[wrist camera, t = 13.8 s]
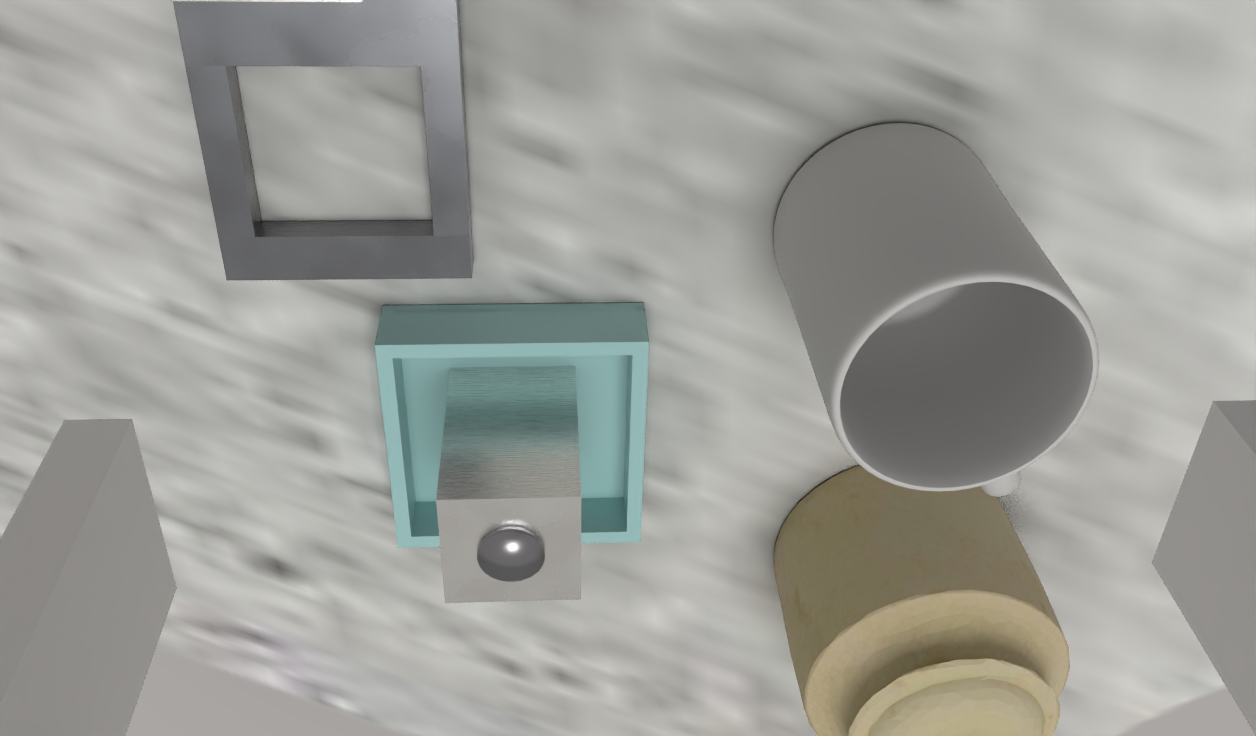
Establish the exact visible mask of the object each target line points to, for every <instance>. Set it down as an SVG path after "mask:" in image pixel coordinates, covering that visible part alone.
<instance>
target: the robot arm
mask: <svg viewBox="0 0 1256 736" xmlns="http://www.w3.org/2000/svg"><path fill="white" fill-rule="evenodd" d="M1152 564H1153V565H1154V567H1155V569H1156V570H1157V572H1158V574H1159V575H1160V577H1161V579H1162V580H1163V582H1164V584H1165V585H1166V587H1167V589H1168V590H1169V592H1170V594H1171V595H1172V597H1173V599H1174V600H1175V602H1176V604H1177V605H1178V607H1179V609H1180V610H1181V612H1182V614H1183V615H1184V617H1185V619H1186V620H1187V622H1188V624H1189V625H1190V627H1191V629H1192V630H1193V632H1194V634H1195V635H1196V637H1197V639H1198V640H1199V642H1200V644H1201V645H1202V647H1203V649H1204V650H1205V652H1206V654H1207V655H1208V657H1209V659H1210V660H1211V662H1212V664H1213V665H1214V667H1215V669H1216V670H1217V672H1218V673H1219V675H1220V677H1221V678H1222V680H1223V682H1224V683H1225V685H1226V687H1227V688H1228V690H1229V692H1230V693H1231V695H1232V697H1233V698H1234V700H1235V702H1236V703H1237V705H1238V707H1239V708H1240V710H1241V712H1242V713H1243V715H1244V717H1245V718H1246V720H1247V722H1248V723H1249V725H1250V727H1251V728H1252V730H1253V732H1254V733H1255V735H1256V400H1251V401H1213V403H1212V406H1211V408H1210V411H1209V414H1208V416H1207V419H1206V421H1205V424H1204V427H1203V429H1202V432H1201V435H1200V437H1199V440H1198V442H1197V445H1196V448H1195V450H1194V453H1193V456H1192V458H1191V461H1190V463H1189V466H1188V469H1187V471H1186V474H1185V477H1184V479H1183V482H1182V485H1181V487H1180V490H1179V492H1178V495H1177V498H1176V500H1175V503H1174V506H1173V508H1172V511H1171V513H1170V516H1169V519H1168V521H1167V524H1166V527H1165V529H1164V532H1163V535H1162V537H1161V540H1160V542H1159V545H1158V548H1157V550H1156V553H1155V556H1154V558H1153V561H1152ZM176 588H177V587H176V583H175V579H174V576H173V572H172V568H171V564H170V560H169V557H168V553H167V549H166V545H165V542H164V538H163V534H162V530H161V527H160V523H159V519H158V515H157V512H156V508H155V504H154V500H153V497H152V493H151V489H150V485H149V482H148V478H147V474H146V470H145V466H144V463H143V459H142V455H141V451H140V448H139V444H138V440H137V436H136V433H135V429H134V425H133V421H132V419H94V420H64V422H63V424H62V426H61V428H60V429H59V431H58V433H57V435H56V437H55V439H54V441H53V442H52V444H51V446H50V448H49V450H48V452H47V454H46V455H45V457H44V459H43V461H42V463H41V465H40V467H39V468H38V470H37V472H36V474H35V476H34V478H33V480H32V481H31V483H30V485H29V487H28V489H27V491H26V493H25V494H24V496H23V498H22V500H21V502H20V504H19V506H18V507H17V509H16V511H15V513H14V515H13V517H12V519H11V520H10V522H9V524H8V526H7V528H6V530H5V532H4V533H3V535H2V537H1V539H0V736H125V735H126V733H127V730H128V727H129V724H130V721H131V718H132V715H133V712H134V709H135V706H136V704H137V701H138V698H139V695H140V692H141V689H142V686H143V683H144V680H145V678H146V675H147V672H148V669H149V666H150V663H151V660H152V657H153V654H154V652H155V649H156V646H157V643H158V640H159V637H160V634H161V631H162V628H163V625H164V623H165V620H166V617H167V614H168V611H169V608H170V605H171V602H172V599H173V597H174V594H175V591H176Z"/></svg>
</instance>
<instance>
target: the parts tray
mask: <svg viewBox="0 0 1256 736" xmlns="http://www.w3.org/2000/svg"><path fill="white" fill-rule="evenodd" d="M375 352H376V361H377V370H378V378H379V387H380V396H381V404H382V413H383V422H384V431H385V439H386V448H387V457H388V465H389V474H390V483H391V492H392V500H393V509H394V518H395V526H396V535H397V544H398V548H405V547H440V539H439V528H438V517H437V505H436V496H437V486H438V477H439V468H440V458H441V449H442V440H443V430H444V421H445V411H446V402H447V393H448V383H449V374H450V368H462V367H530V366H575V368H576V390H577V412H578V434H579V457H580V479H581V543H616V542H640V540H641V517H642V494H643V470H644V447H645V424H646V401H647V377H648V354H649V338H648V331H647V323H646V316H645V309H644V303H567V304H472V305H383V307H382V312H381V317H380V322H379V327H378V331H377V336H376V341H375Z"/></svg>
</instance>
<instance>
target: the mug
mask: <svg viewBox="0 0 1256 736" xmlns="http://www.w3.org/2000/svg"><path fill="white" fill-rule="evenodd" d="M773 241H774V252H775V257H776V261H777V265H778V269H779V272H780V275H781V278H782V280H783V283H784V285H785V288H786V290H787V293H788V296H789V298H790V301H791V304H792V307H793V310H794V313H795V316H796V319H797V322H798V325H799V328H800V331H801V334H802V337H803V340H804V343H805V346H806V349H807V352H808V355H809V358H810V361H811V364H812V367H813V370H814V373H815V376H816V379H817V382H818V385H819V388H820V391H821V394H822V397H823V400H824V403H825V406H826V409H827V412H828V415H829V418H830V420H831V423H832V425H833V427H834V430H835V432H836V435H837V437H838V439H839V440H840V442H841V443H842V445H843V447H844V448H845V450H846V451H847V452H848V454H849V455H850V456H851V457H852V458H853V459H854V460H855V461H856V462H857V463H858V464H859V465H860V466H862V467H863V468H864V469H865V470H867V471H868V472H870V473H871V474H873V475H875V476H876V477H878V478H880V479H882V480H885V481H887V482H889V483H891V484H894V485H898V486H901V487H905V488H910V489H916V490H922V491H956V490H963V489H970V488H974V487H978V486H981V488H982V489H983V491H984V492H985V493H987V494H989V495H990V496H996V497H1000V496H1004V495H1008V494H1010V493H1011V492H1013V491H1015V490H1016V488H1017V487H1018V486H1019V485H1020V480H1021V475H1020V472H1019V471H1021V470H1022V469H1024V468H1026V467H1028V466H1029V465H1031V464H1033V463H1034V462H1036V461H1037V460H1039V459H1040V458H1041V457H1043V456H1044V455H1046V454H1047V453H1048V452H1049V451H1050V450H1052V449H1053V448H1054V447H1055V446H1056V445H1057V444H1059V443H1060V441H1061V440H1062V439H1063V438H1064V437H1065V436H1066V435H1067V434H1068V433H1069V432H1070V431H1071V429H1072V428H1073V427H1074V425H1075V424H1076V423H1077V422H1078V420H1079V419H1080V417H1081V416H1082V414H1083V412H1084V410H1085V409H1086V407H1087V405H1088V403H1089V401H1090V398H1091V396H1092V394H1093V391H1094V388H1095V384H1096V380H1097V377H1098V368H1099V353H1098V344H1097V339H1096V335H1095V332H1094V329H1093V327H1092V325H1091V322H1090V320H1089V318H1088V316H1087V314H1086V312H1085V311H1084V309H1083V308H1082V306H1081V305H1080V303H1079V302H1078V300H1077V299H1076V297H1075V296H1074V294H1073V293H1072V291H1071V290H1070V289H1069V287H1068V286H1067V284H1066V283H1065V282H1064V280H1063V279H1062V277H1061V276H1060V275H1059V273H1058V272H1057V270H1056V269H1055V268H1054V266H1053V265H1052V263H1051V262H1050V260H1049V259H1048V258H1047V256H1046V255H1045V253H1044V252H1043V251H1042V249H1041V248H1040V246H1039V245H1038V244H1037V242H1036V241H1035V239H1034V238H1033V237H1032V235H1031V234H1030V232H1029V231H1028V230H1027V228H1026V227H1025V225H1024V224H1023V222H1022V221H1021V220H1020V218H1019V217H1018V215H1017V214H1016V213H1015V211H1014V210H1013V208H1012V207H1011V206H1010V204H1009V203H1008V201H1007V200H1006V198H1005V197H1004V196H1003V194H1002V193H1001V191H1000V189H999V188H998V186H997V185H996V183H995V181H994V180H993V178H992V177H991V175H990V174H989V172H988V171H987V169H986V168H985V166H984V165H983V163H982V162H981V161H980V160H979V159H978V158H977V156H976V155H975V154H974V153H973V152H972V151H971V150H970V149H969V148H968V147H967V146H965V145H964V144H963V143H961V142H960V141H959V140H957V139H955V138H954V137H952V136H950V135H948V134H946V133H944V132H942V131H939V130H937V129H934V128H932V127H927V126H923V125H919V124H909V123H887V124H881V125H874V126H870V127H867V128H863V129H860V130H857V131H854V132H852V133H849V134H847V135H845V136H843V137H841V138H839V139H837V140H835V141H833V142H832V143H830V144H828V145H827V146H826V147H824V148H823V149H821V150H820V151H818V152H817V153H816V154H815V155H814V156H813V157H812V158H811V159H809V160H808V161H807V162H806V163H805V164H804V166H803V167H802V168H801V169H800V170H799V171H798V172H797V174H796V175H795V176H794V178H793V179H792V181H791V182H790V184H789V185H788V187H787V189H786V191H785V193H784V195H783V197H782V199H781V202H780V205H779V207H778V210H777V215H776V219H775V224H774V237H773Z"/></svg>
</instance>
